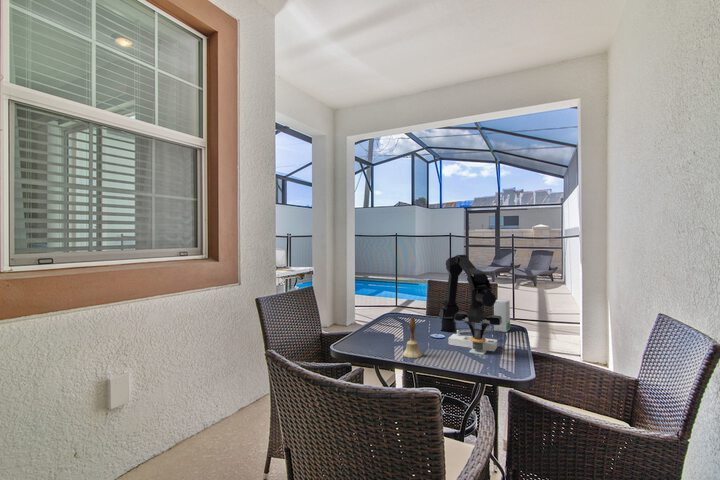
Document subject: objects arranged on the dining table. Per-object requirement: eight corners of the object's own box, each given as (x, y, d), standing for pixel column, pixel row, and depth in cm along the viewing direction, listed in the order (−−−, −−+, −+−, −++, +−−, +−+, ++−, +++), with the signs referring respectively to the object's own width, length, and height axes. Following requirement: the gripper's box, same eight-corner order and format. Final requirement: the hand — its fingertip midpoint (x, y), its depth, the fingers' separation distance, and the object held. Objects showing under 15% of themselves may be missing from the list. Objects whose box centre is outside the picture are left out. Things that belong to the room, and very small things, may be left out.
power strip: (448, 344, 162) (448, 335, 162) (453, 340, 168) (453, 331, 168) (494, 351, 151) (494, 341, 151) (497, 346, 158) (497, 337, 158)
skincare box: (506, 332, 180) (506, 302, 180) (493, 330, 184) (492, 300, 184) (510, 329, 186) (510, 299, 186) (497, 327, 190) (497, 298, 190)
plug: (468, 349, 150) (468, 330, 150) (472, 345, 156) (472, 327, 155) (483, 351, 147) (483, 332, 147) (487, 347, 152) (487, 329, 152)
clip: (457, 332, 164) (457, 328, 164) (455, 331, 166) (455, 327, 166) (492, 331, 166) (492, 327, 166) (490, 330, 168) (490, 326, 168)
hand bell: (405, 350, 154) (405, 314, 153) (424, 353, 150) (423, 316, 150) (400, 356, 146) (399, 318, 146) (419, 359, 143) (419, 320, 142)
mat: (469, 352, 150) (469, 351, 150) (472, 348, 155) (472, 347, 155) (483, 355, 147) (483, 354, 147) (486, 350, 152) (486, 349, 152)
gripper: (450, 303, 149) (450, 339, 149) (497, 307, 139) (497, 346, 139) (458, 298, 158) (458, 333, 159) (502, 302, 149) (502, 339, 149)
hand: (477, 337), depth 151 cm, fingers closed on plug, 3 cm apart
